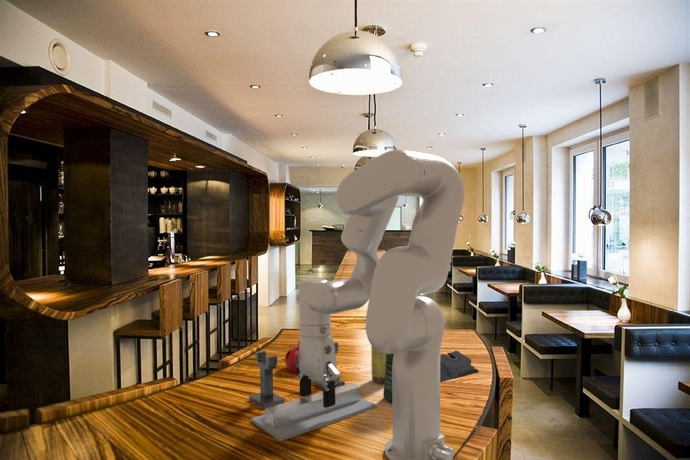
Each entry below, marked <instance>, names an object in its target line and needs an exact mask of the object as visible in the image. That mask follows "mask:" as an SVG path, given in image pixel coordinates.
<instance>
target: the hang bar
mask: <svg viewBox="0 0 690 460" xmlns="http://www.w3.org/2000/svg"><path fill="white" fill-rule="evenodd" d="M361 398H362V387H361V385H358V384H356V383H353V382H352V383H351V382H350V383H348V384H345V385H344V386H341V387H337V388H336V389H335V405H333V406H330V407H327V408H324V407H323V391H321V392H317V393H314V394H310V395H307V396H304V397H300V398H297V399H294V400H290V401H285V403H283V404H279V405H276V406H272V407H269V408H265V409H264V414H265V424H266V425H268V426H269V427H271V428H272V429H274V428H277V427H281V426H284V425H287V424H290V423H293V422H296V421H299V420H302V419H305V418H308V417H311V416H314V415H317V414H320V413H323V412H326V411H329V410H332V409H335V408H338V407H342V406H345V405H348V404H351V403H354V402H357V401H360V400H361Z"/></svg>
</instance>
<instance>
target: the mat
mask: <svg viewBox="0 0 690 460" xmlns="http://www.w3.org/2000/svg"><path fill="white" fill-rule="evenodd" d="M373 409H377V404H376V403H374V402H372V401H370V400H366V399H364V398H363V397H361V400H360V401H357V402H354V403H351V404H348V405H345V406H342V407H338V408H335V409H332V410H329V411H326V412H323V413H320V414H317V415H314V416H311V417H308V418H305V419H302V420H299V421H296V422H293V423H290V424H287V425H284V426H281V427H277V428H274V429H272V428H271V427H269V426H268V425H266V424H265V413H264V414H261V415H257V416H255V417H252V418H251V419H250V420H251V423H252V424H254V425H256V426H257V427H258V428H260V429H261V430H263V431H265V432H266V433H267V434H268V435H270V436H272V437H274V438H275V439H277V440H278V441H279V442H283V441H285V440H289V439H291V438H294V437H297V436H299V435H303V434H305V433H308V432H312V431H315V430H316V429H320V428H322V427H326V426H329V425H331V424H334V423H337V422H340V421H342V420H345V419H348V418H351V417H354V416H357V415H359V414H361V413H362V414H363V413H365V412H368V411H371V410H373Z"/></svg>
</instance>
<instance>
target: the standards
mask: <svg viewBox="0 0 690 460" xmlns="http://www.w3.org/2000/svg"><path fill="white" fill-rule="evenodd" d="M334 346H335V354H336V355H338V352H339V342H336V341H334ZM255 362H256V365H257V366H258V367H259V383H260V387H259V388H260V390H259V391H260V392H257V393H255V394H254V393H253V394H250V395H248V400H249V401H250V402H251V403H253V404H255V405H257V406H259V407H260V408H262V409H263V410H265V408H269V407H272V406H276V405H279V404H283V403H286V398H284V397H283V396H280V395H279V394H277V393H275V392H274V369H277V366H278V356H277V355H269V356H267V351H266V350H260V351H255ZM324 377H326V376H324ZM326 382H327V384H329V382H330V381H329V380H326ZM345 383H346V382H345V381H344V380H342V379H341V378H340V379H339V384H338V385H337V387H341V386H344V385H346V384H345ZM311 385H315V386H317V387H319V388H321V389H324V387H323V384H322V382H321V381H319V380H316V379H313V378H311ZM324 390H325V389H324Z"/></svg>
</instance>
